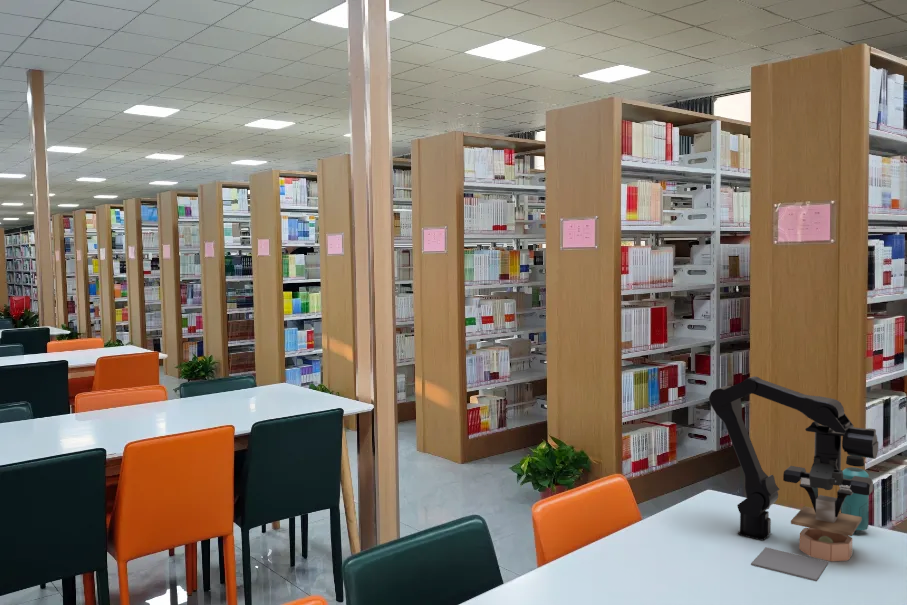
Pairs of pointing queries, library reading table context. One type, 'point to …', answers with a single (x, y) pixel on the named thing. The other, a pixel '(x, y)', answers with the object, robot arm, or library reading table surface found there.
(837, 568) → the library reading table surface
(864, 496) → the beverage bottle
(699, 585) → the library reading table surface
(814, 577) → the mat
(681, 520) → the library reading table surface
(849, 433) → the robot arm
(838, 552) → the bowl
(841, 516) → the lid
